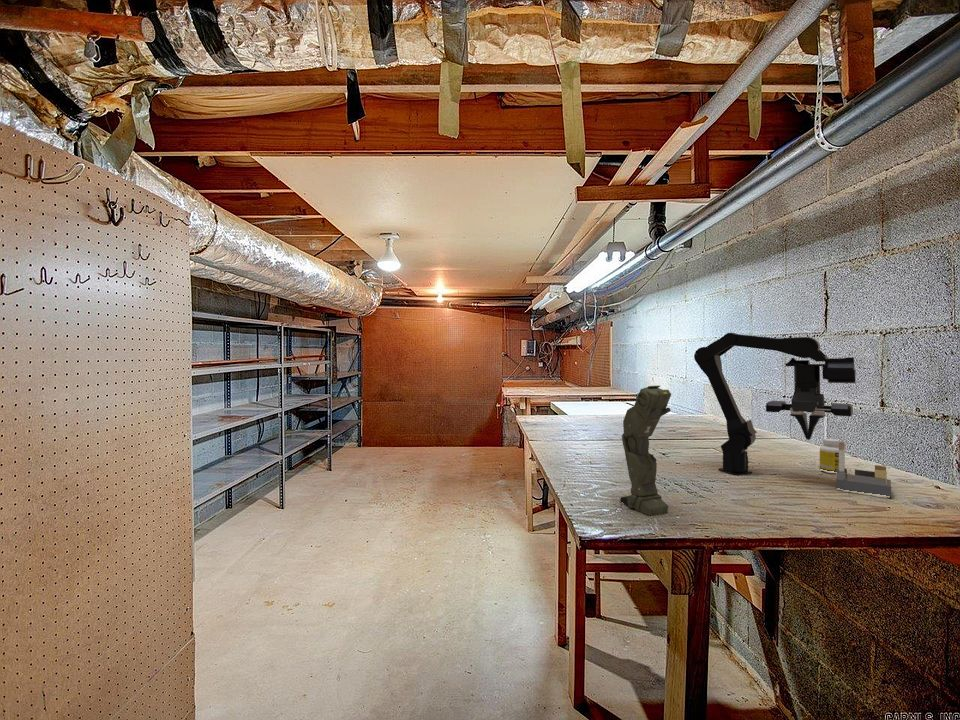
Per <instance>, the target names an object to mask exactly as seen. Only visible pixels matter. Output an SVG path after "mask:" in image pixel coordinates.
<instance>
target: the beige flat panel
mask: <svg viewBox="0 0 960 720" xmlns="http://www.w3.org/2000/svg"><path fill="white" fill-rule="evenodd" d="M845 448H846V442H845V441H844V442H841V441H840V442H839V472H841V473H845V469H846V466H845V465H846V464H845V463H846V460H845V458H846V457H845V456H846V454H845V453H846V452H845V451H846V449H845Z"/></svg>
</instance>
